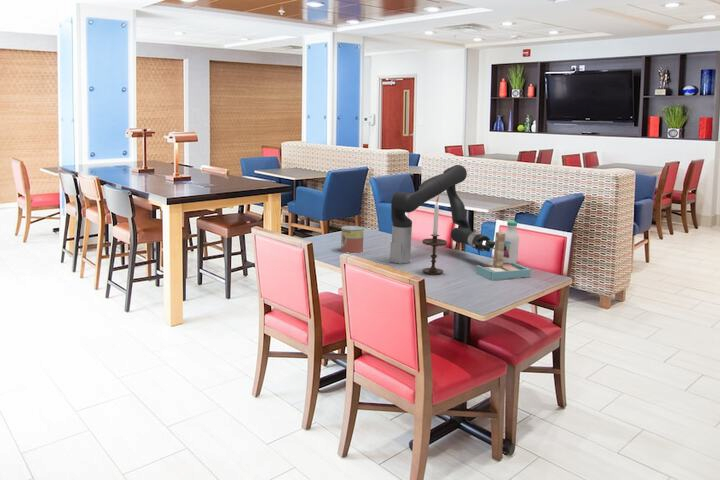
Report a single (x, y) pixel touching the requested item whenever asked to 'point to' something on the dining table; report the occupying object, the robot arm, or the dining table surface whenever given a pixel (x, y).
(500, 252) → the wooden tower
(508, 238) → the milk bottle
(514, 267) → the tile terracotta
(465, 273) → the dining table surface
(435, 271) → the candlestick
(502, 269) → the tile cream
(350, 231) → the canned food
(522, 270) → the box
